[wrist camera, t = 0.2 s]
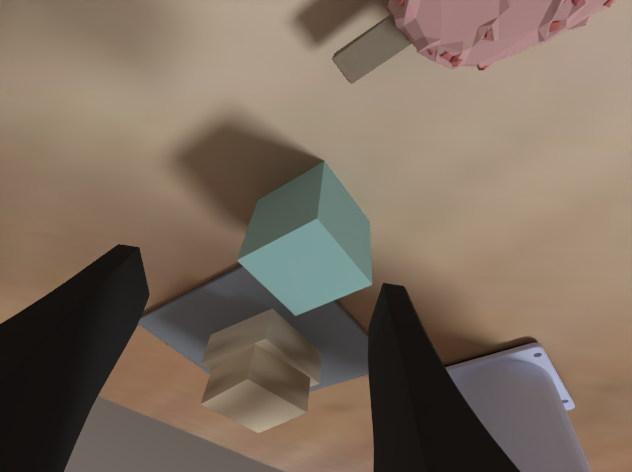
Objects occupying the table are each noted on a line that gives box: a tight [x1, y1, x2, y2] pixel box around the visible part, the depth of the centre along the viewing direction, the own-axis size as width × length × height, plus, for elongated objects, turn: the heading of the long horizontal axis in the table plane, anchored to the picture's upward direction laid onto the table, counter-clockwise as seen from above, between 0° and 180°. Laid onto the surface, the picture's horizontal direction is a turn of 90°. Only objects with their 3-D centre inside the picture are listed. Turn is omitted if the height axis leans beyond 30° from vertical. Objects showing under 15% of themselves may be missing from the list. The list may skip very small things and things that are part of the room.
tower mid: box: [201, 344, 310, 433], centre depth 27 cm, size 5×5×2 cm
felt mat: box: [138, 265, 369, 392], centre depth 30 cm, size 14×14×1 cm
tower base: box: [201, 308, 322, 387], centre depth 29 cm, size 6×6×2 cm
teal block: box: [237, 161, 372, 316], centre depth 20 cm, size 4×4×5 cm
